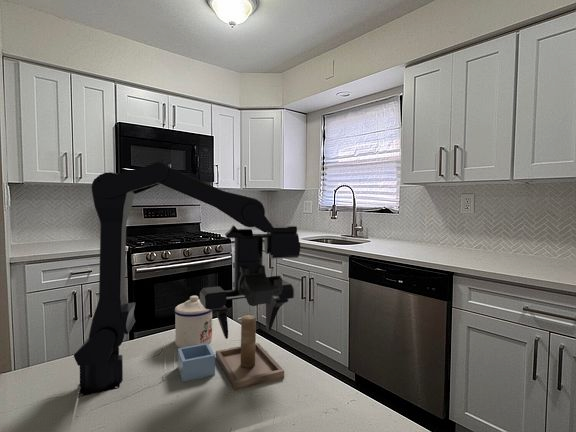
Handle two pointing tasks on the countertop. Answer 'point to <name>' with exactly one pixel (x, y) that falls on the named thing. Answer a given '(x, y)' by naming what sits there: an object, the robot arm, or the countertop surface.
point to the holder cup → (196, 362)
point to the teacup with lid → (192, 323)
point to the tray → (244, 378)
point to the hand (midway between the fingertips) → (248, 334)
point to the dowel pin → (248, 341)
